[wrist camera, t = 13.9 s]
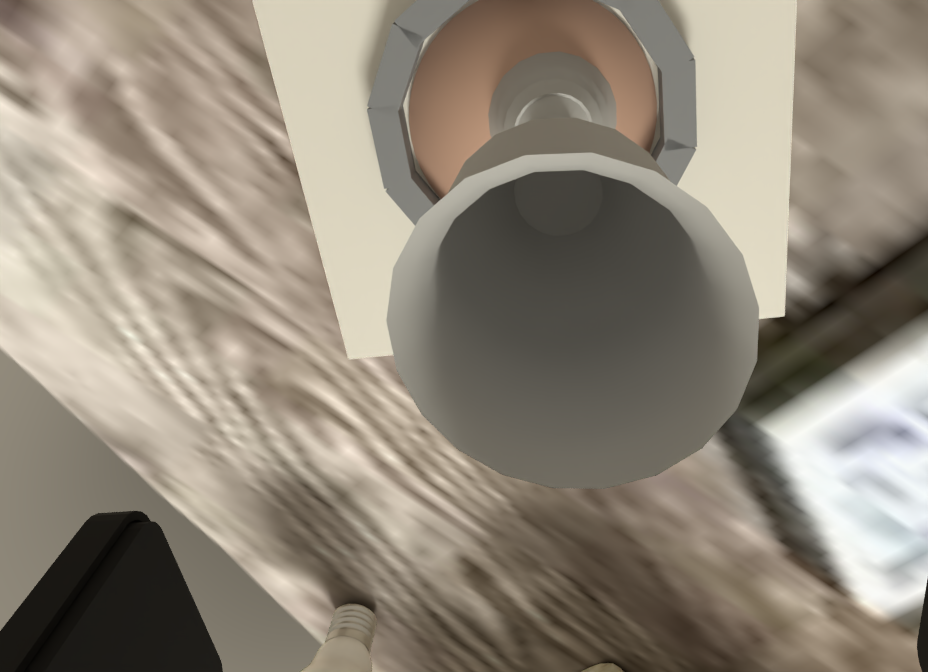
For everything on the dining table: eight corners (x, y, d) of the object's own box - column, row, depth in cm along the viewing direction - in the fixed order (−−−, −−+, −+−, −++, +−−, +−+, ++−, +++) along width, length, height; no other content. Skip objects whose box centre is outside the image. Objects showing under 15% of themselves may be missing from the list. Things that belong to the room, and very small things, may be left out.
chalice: (430, 84, 30) (310, 271, 14) (583, -18, 28) (647, 67, 12) (525, 235, 32) (514, 533, 17) (672, 152, 30) (820, 407, 14)
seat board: (797, -234, 25) (818, -247, 23) (778, 306, 34) (792, 328, 32) (230, -118, 28) (207, -121, 26) (353, 349, 37) (342, 372, 35)
